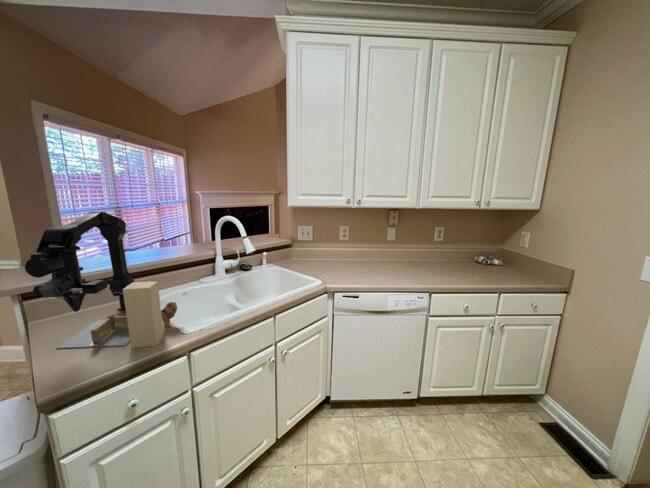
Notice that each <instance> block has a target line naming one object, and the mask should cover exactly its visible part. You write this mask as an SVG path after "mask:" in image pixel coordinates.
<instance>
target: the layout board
mask: <svg viewBox="0 0 650 488" xmlns="http://www.w3.org/2000/svg"><path fill="white" fill-rule="evenodd" d="M105 320H106V319H97V320H95V321H94V322H93V323H91V324H89V325H88V326H86V327H85V328H83V329H82V330H81V331H79V332H78V333H76V334H75V335H73V336H72V337H70V338H68V339H67V340H66V341H64V342H63V343H62V344H60V345H58V346H57V347H56V350H58V349H81V348H82V349H83V348H84V349H85V348H87V349H88V348H108V347H126V346H127V345H128V344H129V343H131V341H130V335H129V330H113V331H111V332H110V333H109V334H108V335H107V336H105V337H104V338H103V339H102V340H101V341H100V343H99V344H95V345H94V344H93V341H92V336H91V330H93V329H95V328H96V327H97V326H99V325H100V324H101V323H102V322H104V321H105Z"/></svg>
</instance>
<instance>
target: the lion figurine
mask: <svg viewBox="0 0 650 488" xmlns="http://www.w3.org/2000/svg"><path fill="white" fill-rule="evenodd" d="M177 311H178V305H177V302H176V301H175V302H174V301H170V302H168V303H166V304H165V306H164V307H163V308H162V309H161V314H162V322H163V326H167V328H168V329H170V328H171V327H172V325H171V324H170V323H171V321H170V320H171V319H174V317H175V314H176V313H177Z"/></svg>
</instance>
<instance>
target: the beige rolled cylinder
mask: <svg viewBox="0 0 650 488" xmlns="http://www.w3.org/2000/svg"><path fill="white" fill-rule="evenodd" d="M104 320H105V321H104V322H102V323H101V324H100V325H99V326H97V327H96V328H95V329H93V330H91V336H92V341H93V344H94V345H95V344H99V343H100V341H101V340H102V339H103V338H104V337H105V336H107V335H108V334H109V333H110V332H111V331H112V326H111V320H110V319H107V318H106V319H104Z"/></svg>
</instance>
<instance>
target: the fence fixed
mask: <svg viewBox="0 0 650 488" xmlns="http://www.w3.org/2000/svg"><path fill="white" fill-rule="evenodd" d="M106 319H110V320H111V326H112V331H113V330H129V328H128V322H127V315H115V314H110V315H107V317H106Z"/></svg>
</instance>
